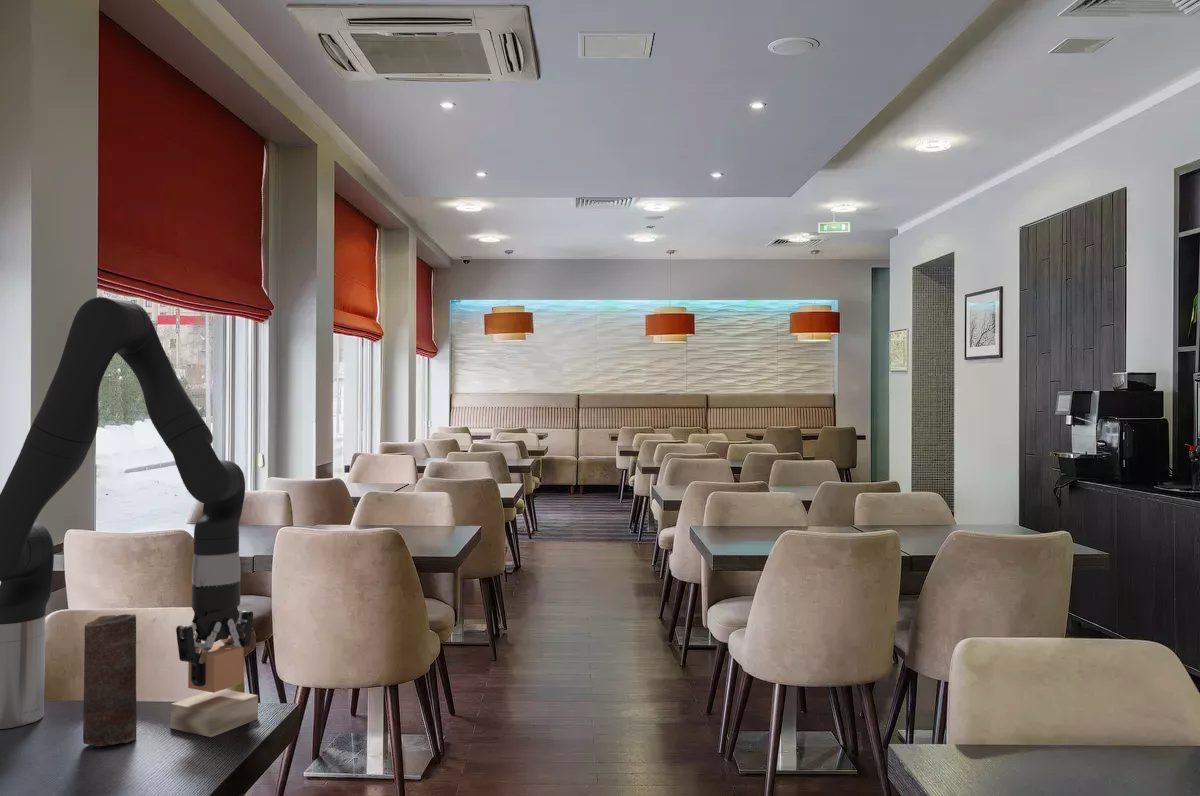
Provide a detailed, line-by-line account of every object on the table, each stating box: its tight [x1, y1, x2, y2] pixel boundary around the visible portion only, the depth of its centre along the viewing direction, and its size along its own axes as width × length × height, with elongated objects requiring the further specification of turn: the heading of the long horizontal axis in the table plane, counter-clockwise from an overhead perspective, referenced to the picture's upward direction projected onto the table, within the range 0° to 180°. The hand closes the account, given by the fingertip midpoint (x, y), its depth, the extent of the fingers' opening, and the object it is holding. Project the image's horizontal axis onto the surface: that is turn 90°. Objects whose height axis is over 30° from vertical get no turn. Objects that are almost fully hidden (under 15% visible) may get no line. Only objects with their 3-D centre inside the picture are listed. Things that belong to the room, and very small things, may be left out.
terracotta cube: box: [187, 643, 245, 693], centre depth 147 cm, size 6×6×6 cm
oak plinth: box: [170, 688, 259, 738], centre depth 147 cm, size 10×10×4 cm
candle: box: [82, 613, 138, 747], centre depth 138 cm, size 8×7×20 cm
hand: (215, 679), depth 147 cm, fingers closed on terracotta cube, 6 cm apart
